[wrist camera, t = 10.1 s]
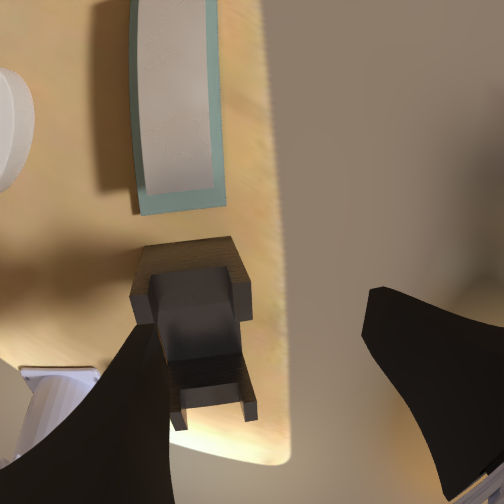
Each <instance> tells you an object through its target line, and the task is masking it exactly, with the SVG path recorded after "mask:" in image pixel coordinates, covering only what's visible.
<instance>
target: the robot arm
mask: <svg viewBox="0 0 504 504" xmlns="http://www.w3.org/2000/svg"><path fill="white" fill-rule="evenodd" d="M361 336H362V338H363V340H364V341H365V344H366V345H367V348H368V349H369V351H370V353H371V355H372V357H373V358H374V359H375V361H376V362H377V364H378V365H379V366H380V368H381V369H382V371H383V372H384V373H385V375H386V376H387V377H388V379H389V380H390V381H391V383H392V384H393V385H394V387H395V388H396V389H397V391H398V392H399V394H400V395H401V396H402V398H403V399H404V401H405V402H406V404H407V405H408V407H409V408H410V410H411V412H412V414H413V416H414V418H415V420H416V421H417V423H418V425H419V427H420V429H421V431H422V434H423V436H424V438H425V440H426V442H427V444H428V447H429V449H430V452H431V454H432V457H433V460H434V463H435V465H436V469H437V472H438V475H439V479H440V482H441V486H442V491H443V494H444V496H445V497H446V499H447V500H448V501H451V500H452V499H454V498H455V497H457V496H458V495H459V494H461V493H462V492H463V491H465V490H466V489H467V488H468V487H470V486H471V485H473V484H474V483H475V482H476V481H478V480H479V479H480V478H481V477H482V476H484V475H485V474H486V473H487V475H488V477H486V478H485V479H484V480H483V481H482V482H480V483H479V484H478V485H477V486H475V487H474V488H473V489H472V490H470V491H469V492H468V493H467V494H465V495H464V496H463V497H461V498H460V499H458V500H457V501H456V502H454V503H453V504H481V503H483V502H484V501H485V500H486V499H487V498H488V497H489V498H488V504H504V327H498V326H493V325H489V324H485V323H482V322H478V321H475V320H471V319H468V318H465V317H462V316H459V315H456V314H454V313H451V312H448V311H445V310H443V309H441V308H438V307H436V306H433V305H431V304H428V303H426V302H424V301H421V300H419V299H416V298H414V297H412V296H409V295H407V294H404V293H402V292H399V291H396V290H394V289H391V288H387V287H378V288H374V289H370V291H369V297H368V303H367V308H366V313H365V319H364V324H363V329H362V334H361ZM20 373H21V375H22V376H23V378H24V380H25V381H26V383H27V385H28V386H29V388H30V389H31V391H32V392H33V397H32V399H31V402H30V405H29V407H28V410H27V413H26V416H25V419H24V422H23V425H22V428H21V431H20V434H19V438H18V441H17V444H16V448H15V452H14V455H13V458H12V460H11V461H10V462H9V461H8V460H6V459H5V458H1V460H0V504H175V501H174V495H173V489H172V483H171V475H170V466H169V465H170V464H169V431H170V384H169V371H168V367H167V364H166V361H165V357H164V354H163V350H162V347H161V343H160V339H159V336H158V332H157V328H156V324H155V323H151V324H141V325H136V326H135V327H134V329H133V330H132V332H131V333H130V335H129V336H128V338H127V339H126V341H125V342H124V344H123V345H122V347H121V348H120V350H119V351H118V353H117V354H116V356H115V357H114V359H113V360H112V362H111V363H110V365H109V366H108V368H107V369H106V370H105V372H104V373H103V375H102V376H101V375H100V372H99V371H98V370H97V369H95V368H22V369H21V371H20ZM96 378H97V379H96Z"/></svg>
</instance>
